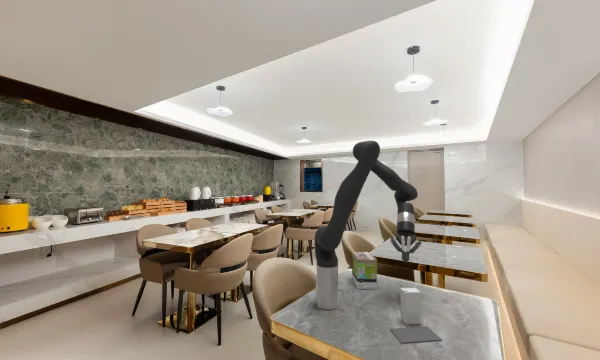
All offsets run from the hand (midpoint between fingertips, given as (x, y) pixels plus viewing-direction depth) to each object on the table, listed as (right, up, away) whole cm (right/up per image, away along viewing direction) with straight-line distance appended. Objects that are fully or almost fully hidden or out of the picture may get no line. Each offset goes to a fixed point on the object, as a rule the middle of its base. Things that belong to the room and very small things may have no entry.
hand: (405, 261), depth 106 cm
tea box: (-11, -20, +27) cm, 35 cm away
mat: (-5, -19, -19) cm, 27 cm away
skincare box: (-2, -20, -10) cm, 22 cm away
